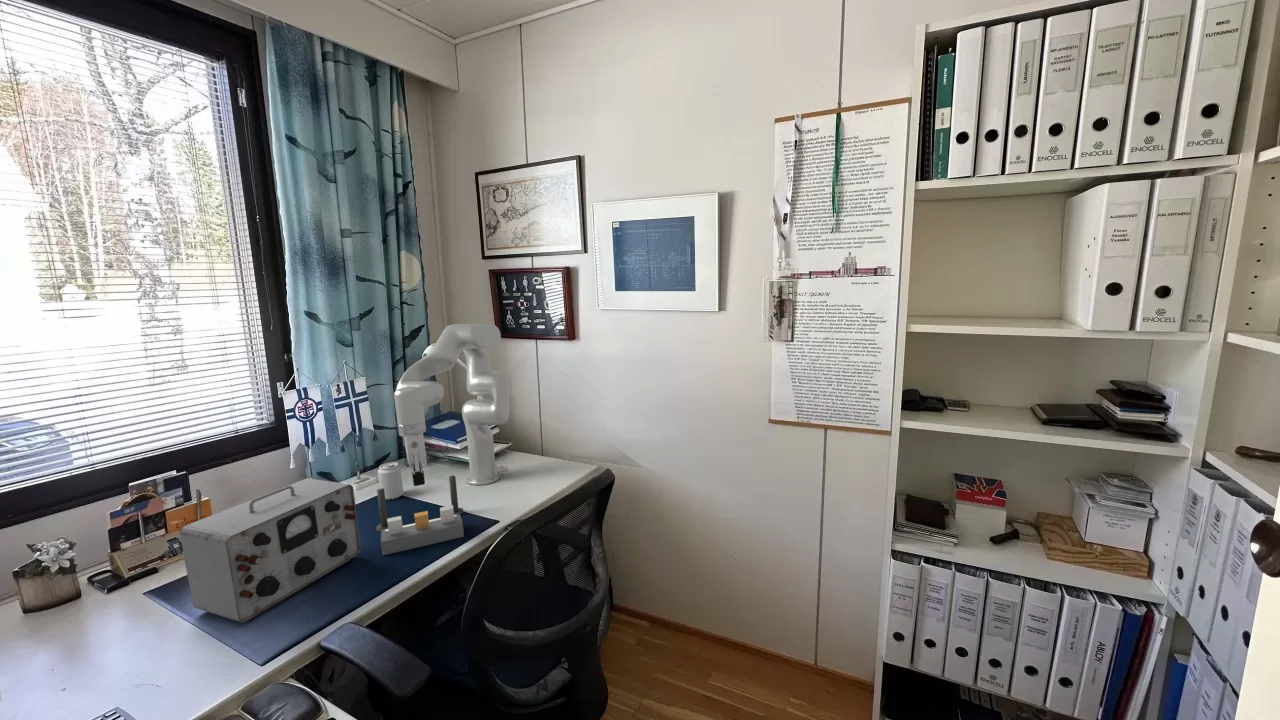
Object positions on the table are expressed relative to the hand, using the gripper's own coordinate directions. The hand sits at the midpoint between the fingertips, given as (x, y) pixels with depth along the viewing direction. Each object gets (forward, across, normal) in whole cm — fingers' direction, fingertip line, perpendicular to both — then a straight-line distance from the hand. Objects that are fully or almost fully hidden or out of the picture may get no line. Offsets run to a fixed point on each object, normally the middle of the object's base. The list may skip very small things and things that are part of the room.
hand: (419, 484), depth 157 cm
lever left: (+10, -9, +8) cm, 15 cm away
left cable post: (+14, +5, +11) cm, 19 cm away
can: (+15, +31, +9) cm, 36 cm away
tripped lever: (+10, -9, +1) cm, 13 cm away
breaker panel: (+14, -9, +1) cm, 17 cm away
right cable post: (+15, +5, -10) cm, 18 cm away
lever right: (+10, -9, -6) cm, 15 cm away
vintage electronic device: (+13, -17, +33) cm, 40 cm away
